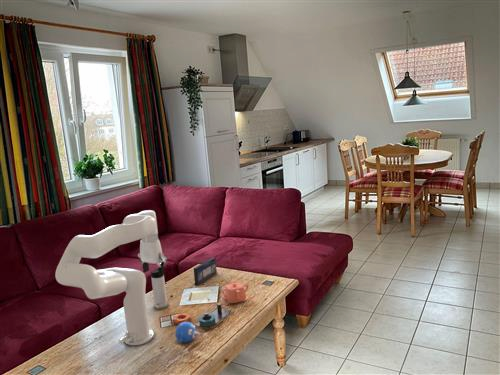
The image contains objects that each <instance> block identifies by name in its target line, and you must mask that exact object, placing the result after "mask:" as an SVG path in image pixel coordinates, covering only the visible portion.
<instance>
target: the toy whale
mask: <svg viewBox="0 0 500 375" xmlns="http://www.w3.org/2000/svg"><path fill="white" fill-rule="evenodd" d="M196 329H197V327H196V325H194V324H193V323H192V322H190V321H188V322H182V323H180V324H178V325H176V328H175V332H174V334H175V338H176V340H177V341H178V343H180V344H181V343H182V344H187V343H190V342H192V341H193V340H196V338H197V337H199V336H202V335H203V333H202V332H199V331H197V330H196Z"/></svg>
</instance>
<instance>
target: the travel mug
mask: <svg viewBox="0 0 500 375" xmlns="http://www.w3.org/2000/svg"><path fill="white" fill-rule="evenodd" d="M150 275H151V286H152V294H153V303H154V309H155V310H156V309H157V310H164V309H166V308H167V307H168V299H167V290H166V281H165V273H164V274H163V275H161V276H159V272H158V268H156V269H154V270H151V271H150Z"/></svg>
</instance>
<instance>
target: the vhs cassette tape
mask: <svg viewBox="0 0 500 375" xmlns="http://www.w3.org/2000/svg"><path fill="white" fill-rule="evenodd" d="M217 269H218V268H217V259H216V257H211V258H209V259H207V260H206V261H204V262H202V263H200V264H198V265H197V266H195V267H193V278H194V285H197V286H200V285H201V284H203V283H205V282H206V281H207V280H209V279H211V278H213V277H214V276H216V275H217V274H218V270H217Z"/></svg>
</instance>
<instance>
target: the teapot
mask: <svg viewBox="0 0 500 375" xmlns="http://www.w3.org/2000/svg"><path fill="white" fill-rule="evenodd" d="M249 287H250V286H249V284H242V283H241V282H230V283H228V284H225V287H224V288H223V289H222V295H223V296H222V299H223V300H224V301H227V303H228V304H235V303H236V304H238V303H242V302H245V301H246V300H247V293H246V292H247V291H248V290H249Z"/></svg>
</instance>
